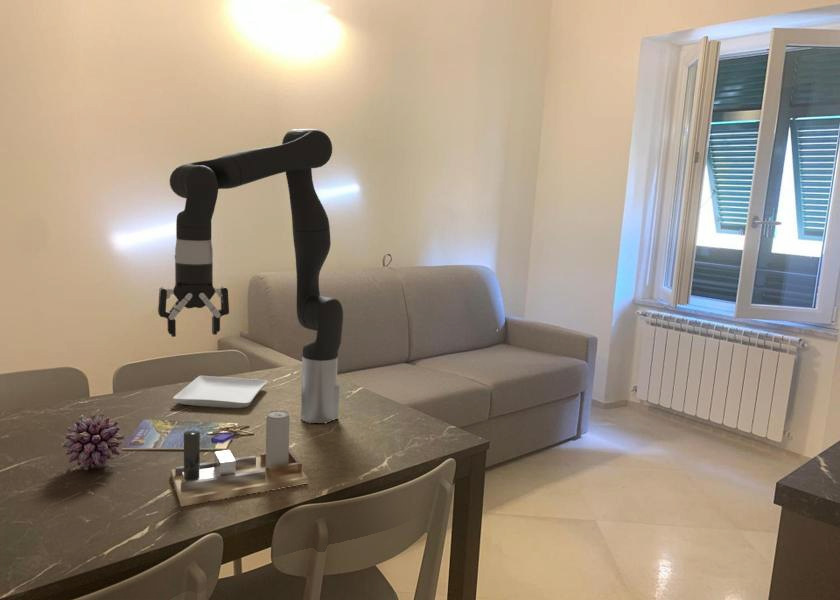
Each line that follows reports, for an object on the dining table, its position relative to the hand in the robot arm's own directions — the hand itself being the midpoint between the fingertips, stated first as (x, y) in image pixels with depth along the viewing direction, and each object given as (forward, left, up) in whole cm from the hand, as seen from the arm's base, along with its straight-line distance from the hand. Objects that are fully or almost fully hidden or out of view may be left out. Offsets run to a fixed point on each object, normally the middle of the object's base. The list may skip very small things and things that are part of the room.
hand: (194, 334), depth 139 cm
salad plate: (-14, -39, -29) cm, 50 cm away
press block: (0, +15, -26) cm, 30 cm away
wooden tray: (-6, +15, -28) cm, 33 cm away
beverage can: (-14, +15, -27) cm, 34 cm away
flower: (+20, -2, -28) cm, 35 cm away
